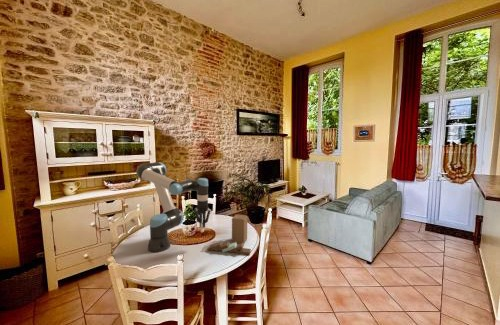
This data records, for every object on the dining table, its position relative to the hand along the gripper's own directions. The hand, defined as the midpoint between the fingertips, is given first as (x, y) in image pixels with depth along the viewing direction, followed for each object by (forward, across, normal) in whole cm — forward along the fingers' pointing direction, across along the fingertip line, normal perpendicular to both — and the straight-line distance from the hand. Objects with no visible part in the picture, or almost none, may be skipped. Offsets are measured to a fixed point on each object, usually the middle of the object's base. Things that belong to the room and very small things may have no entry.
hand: (202, 231), depth 153 cm
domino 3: (+11, +22, -1) cm, 24 cm away
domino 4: (+11, +26, -1) cm, 28 cm away
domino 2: (+11, +11, -1) cm, 16 cm away
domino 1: (+11, +6, -1) cm, 13 cm away
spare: (+11, +16, -1) cm, 20 cm away
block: (+12, +24, +16) cm, 32 cm away
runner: (+12, +15, -1) cm, 19 cm away
